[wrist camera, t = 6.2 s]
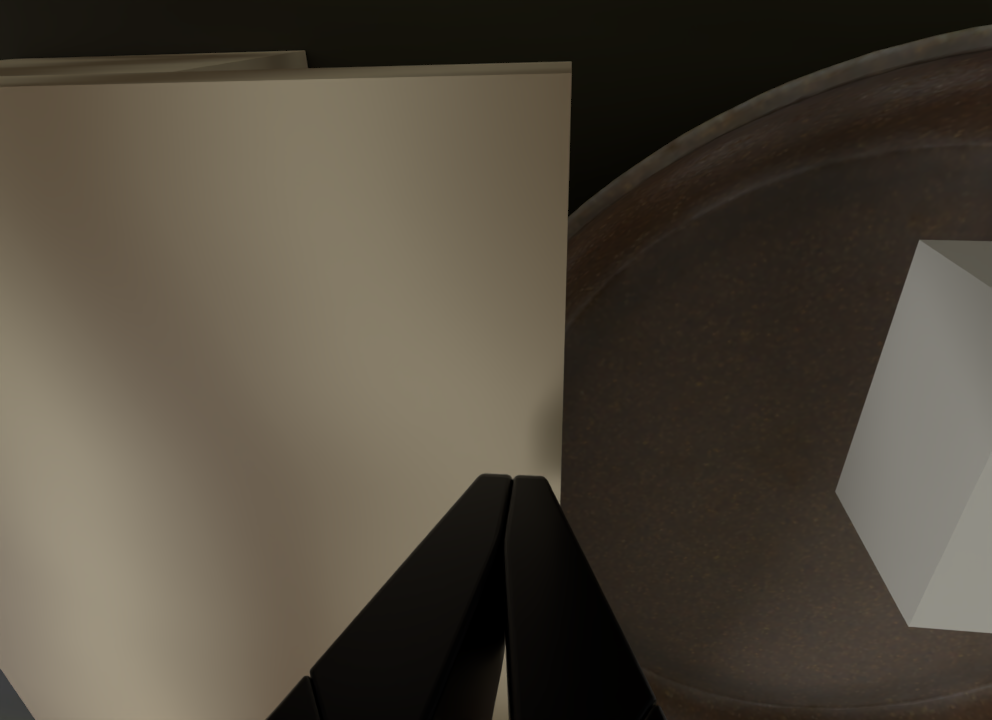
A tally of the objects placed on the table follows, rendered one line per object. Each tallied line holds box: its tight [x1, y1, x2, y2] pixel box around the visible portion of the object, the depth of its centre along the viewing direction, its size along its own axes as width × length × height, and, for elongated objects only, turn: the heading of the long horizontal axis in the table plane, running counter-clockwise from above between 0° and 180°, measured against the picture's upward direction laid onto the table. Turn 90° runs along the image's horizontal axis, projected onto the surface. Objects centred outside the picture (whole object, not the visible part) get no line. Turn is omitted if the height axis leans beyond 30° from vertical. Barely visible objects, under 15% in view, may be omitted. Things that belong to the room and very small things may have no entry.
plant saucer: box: [560, 25, 992, 720], centre depth 14 cm, size 21×21×3 cm
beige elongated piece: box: [0, 50, 572, 720], centre depth 14 cm, size 11×20×6 cm, turn 2°
